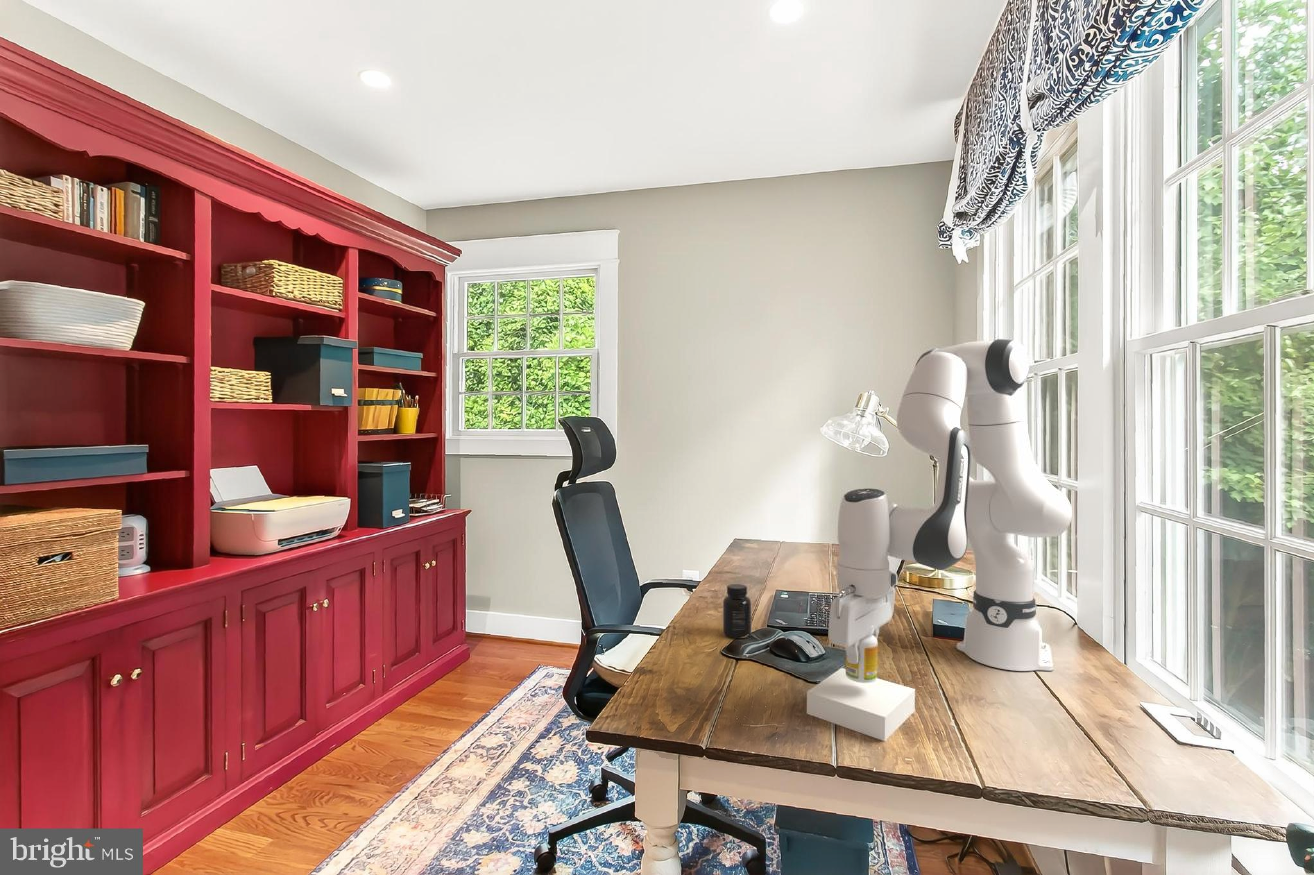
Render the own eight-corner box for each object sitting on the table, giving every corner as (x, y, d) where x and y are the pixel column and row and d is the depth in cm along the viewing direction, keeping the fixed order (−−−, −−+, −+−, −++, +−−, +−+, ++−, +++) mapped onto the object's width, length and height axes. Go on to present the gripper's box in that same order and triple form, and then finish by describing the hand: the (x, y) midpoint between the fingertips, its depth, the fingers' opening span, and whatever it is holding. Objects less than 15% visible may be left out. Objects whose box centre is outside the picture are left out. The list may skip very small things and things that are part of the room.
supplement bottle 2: (876, 673, 111) (877, 620, 111) (877, 685, 106) (878, 630, 105) (845, 669, 113) (846, 617, 112) (844, 681, 107) (845, 626, 107)
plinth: (841, 688, 119) (841, 667, 119) (914, 710, 110) (915, 689, 110) (806, 713, 109) (807, 691, 109) (884, 741, 99) (885, 717, 99)
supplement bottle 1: (755, 633, 150) (755, 585, 149) (744, 641, 144) (744, 591, 144) (730, 628, 153) (730, 581, 153) (718, 636, 148) (718, 587, 147)
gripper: (855, 596, 99) (854, 680, 99) (901, 573, 114) (900, 646, 114) (819, 588, 103) (818, 669, 103) (868, 567, 118) (867, 637, 119)
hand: (861, 656), depth 109 cm, fingers closed on supplement bottle 2, 5 cm apart
